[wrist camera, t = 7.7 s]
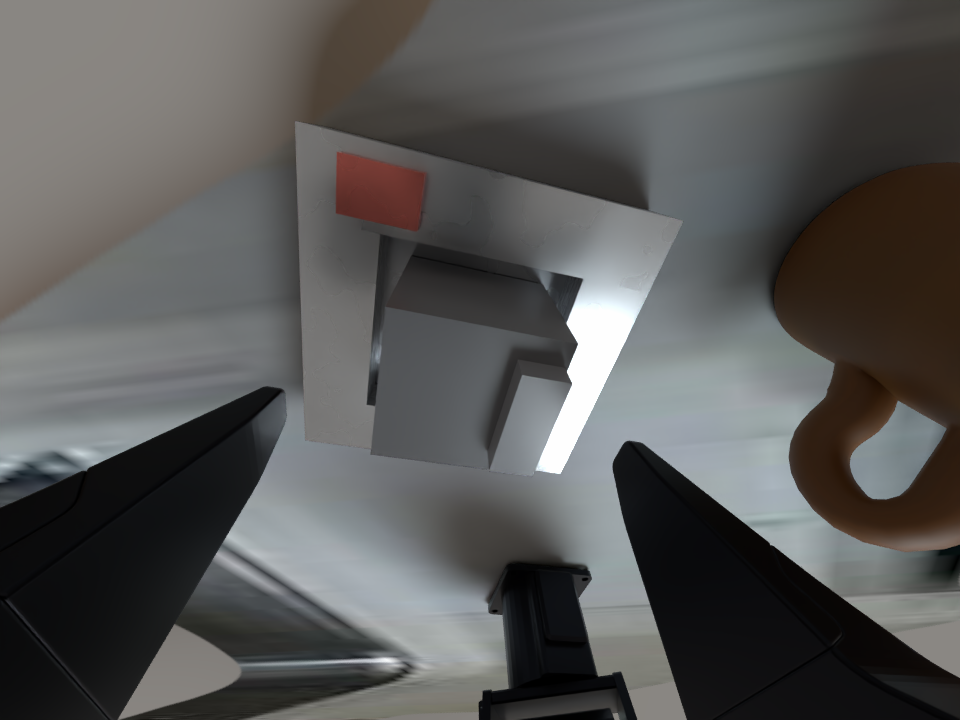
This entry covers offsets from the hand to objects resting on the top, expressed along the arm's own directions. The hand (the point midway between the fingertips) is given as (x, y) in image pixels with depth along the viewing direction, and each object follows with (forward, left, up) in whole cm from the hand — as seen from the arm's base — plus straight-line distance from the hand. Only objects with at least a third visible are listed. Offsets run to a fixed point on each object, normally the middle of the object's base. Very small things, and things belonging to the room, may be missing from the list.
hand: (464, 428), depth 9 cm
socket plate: (0, 0, -7) cm, 7 cm away
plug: (0, 0, -6) cm, 6 cm away
